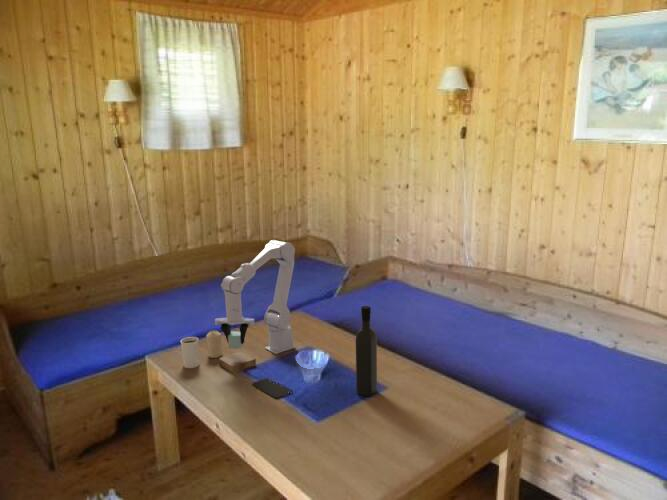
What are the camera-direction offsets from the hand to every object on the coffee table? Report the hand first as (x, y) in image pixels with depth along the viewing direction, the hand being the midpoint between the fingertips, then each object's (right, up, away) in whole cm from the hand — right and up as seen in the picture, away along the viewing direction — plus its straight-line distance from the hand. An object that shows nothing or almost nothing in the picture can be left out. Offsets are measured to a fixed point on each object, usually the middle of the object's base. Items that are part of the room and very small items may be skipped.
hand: (236, 342), depth 205 cm
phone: (+15, -13, -17) cm, 27 cm away
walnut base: (0, -9, +2) cm, 9 cm away
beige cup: (-17, -9, +3) cm, 20 cm away
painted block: (0, -1, 0) cm, 1 cm away
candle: (-10, -7, +11) cm, 17 cm away
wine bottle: (+48, -13, -22) cm, 54 cm away
